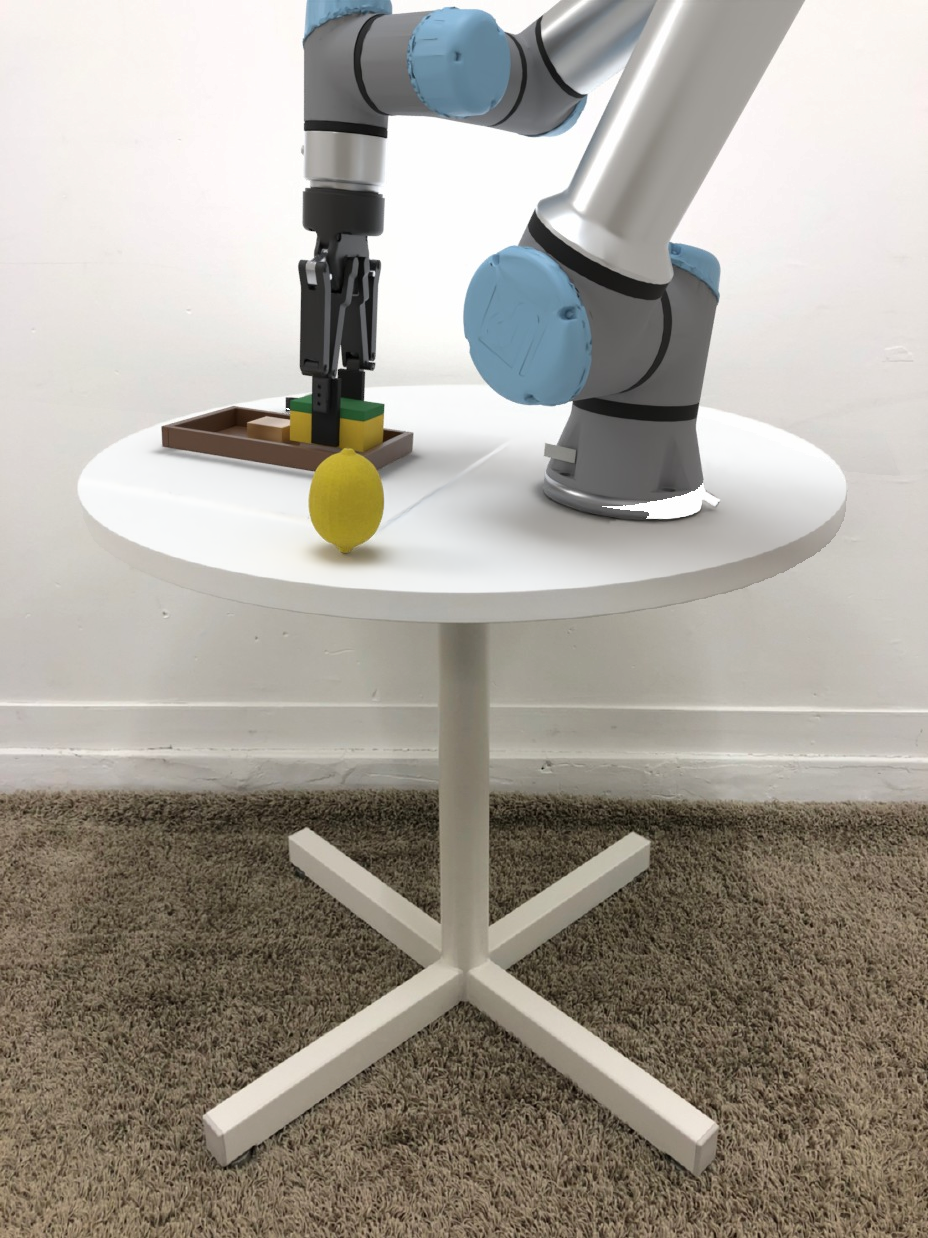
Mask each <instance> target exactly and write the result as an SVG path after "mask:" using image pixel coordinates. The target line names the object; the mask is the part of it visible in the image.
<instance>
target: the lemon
mask: <svg viewBox="0 0 928 1238" xmlns="http://www.w3.org/2000/svg"><path fill="white" fill-rule="evenodd" d="M308 492H309V493H308V512H309V517H310V521H311V523H312V527H314V529H315V531H316V533H317V534H318V535H319V537H321V538H322V539H323V540H324V541H326V542H327V543H329V544H331V545H333V546H335V547H336V548H337V549H338V550H339V552H341V553H343V554H348V553H350V552H351V551H352V550H353V549H354V548H356V547H357V546H359V545H362V544H364V543H366V542H368V541H369V540H370V539H371V538H372V537H373V536H375V534H376V533H377V530H378V529H379V526H380V524H381V522H382V519H383V515H384V510H385V492H384V487H383V482H382V478H381V476H380V474H379V471H378V470H376V468H375V467H374V465H373V464H372V463H371V462H370V461H369V460H367V459H366V458H365V457H363V456H361V455H359V454H357V453H355V451H354V450H353V449H351V448H344V449H343V450H342V451H341V452H340V453H336V454H334V455H331V456H330V457H328V458H327V459H325V460H324V461H323V462H322V463H321V464H320V465H319V466H318V468H317V469H316V471H315V472H313V476H312V479H311V482H310V487H309V491H308Z"/></svg>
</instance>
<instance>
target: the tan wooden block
mask: <svg viewBox="0 0 928 1238" xmlns="http://www.w3.org/2000/svg"><path fill="white" fill-rule="evenodd" d="M247 438H252V439H259V440H265V441H271V442H278V443H284V444H290V445H297V446H298V445H300V442H296V441H290V420H288V419H281V418H274V417H268V416H266V417H263V418H260V419H257V420H253V421H250V422H247Z"/></svg>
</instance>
